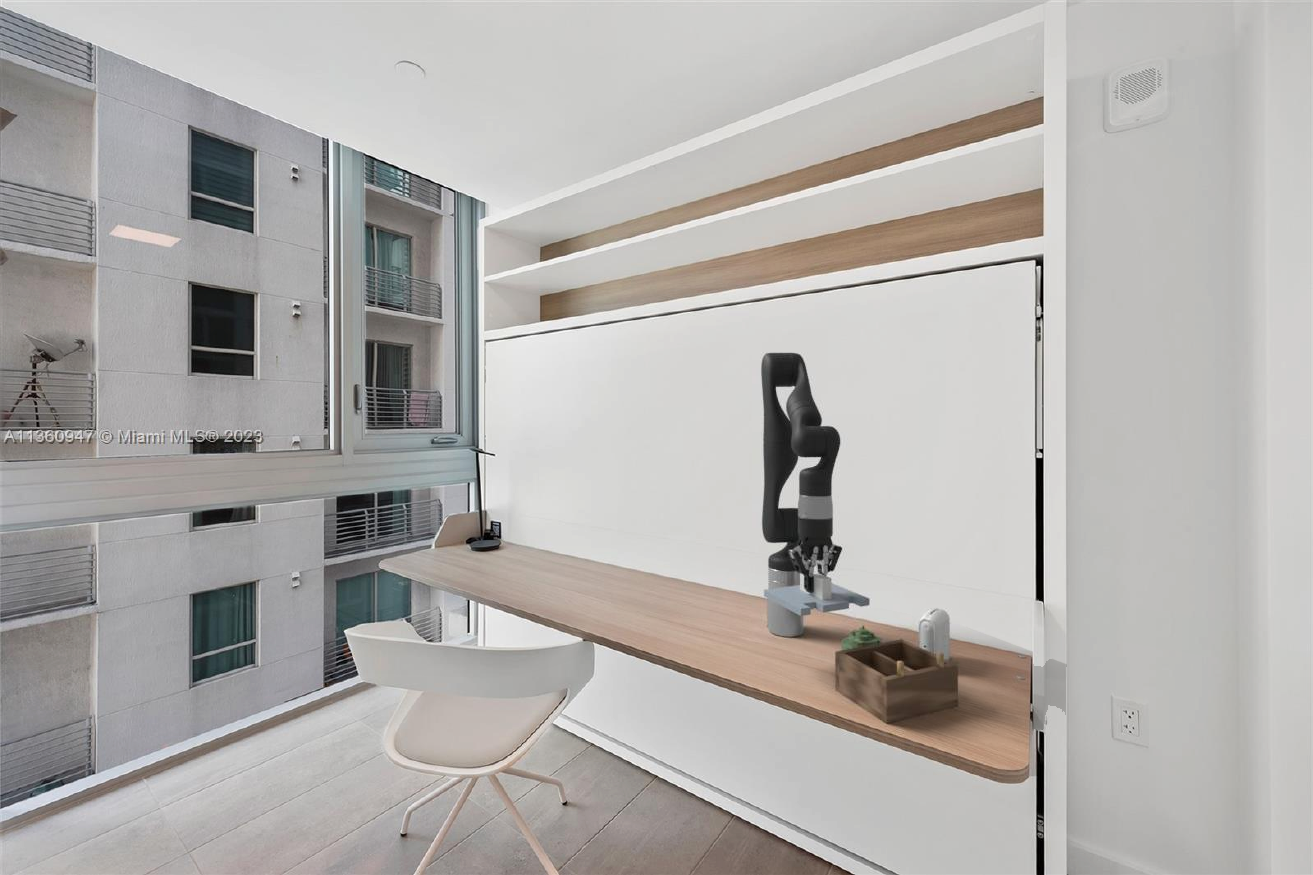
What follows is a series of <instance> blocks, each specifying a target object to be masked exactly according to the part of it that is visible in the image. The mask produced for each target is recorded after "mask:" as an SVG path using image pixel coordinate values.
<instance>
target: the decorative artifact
mask: <svg viewBox="0 0 1313 875" xmlns="http://www.w3.org/2000/svg"><path fill="white" fill-rule="evenodd" d="M849 632H850V633H849V635H848V636H847V637H844V638H842V639H841V651H842V650H847V649H852V648H858V647H863V646H868V645H874V644H879V643H883V639H882V637H881V636H876V635H875V632H873V631H870V630H868V629H867V628H865V625H862V626H861V627H859V628H858V630H857V629H853V630H851V631H849Z"/></svg>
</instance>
